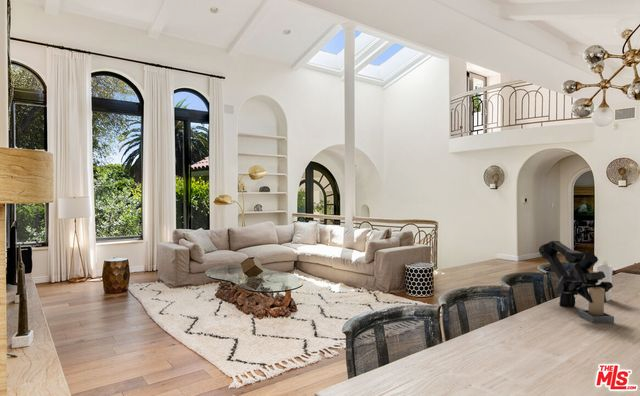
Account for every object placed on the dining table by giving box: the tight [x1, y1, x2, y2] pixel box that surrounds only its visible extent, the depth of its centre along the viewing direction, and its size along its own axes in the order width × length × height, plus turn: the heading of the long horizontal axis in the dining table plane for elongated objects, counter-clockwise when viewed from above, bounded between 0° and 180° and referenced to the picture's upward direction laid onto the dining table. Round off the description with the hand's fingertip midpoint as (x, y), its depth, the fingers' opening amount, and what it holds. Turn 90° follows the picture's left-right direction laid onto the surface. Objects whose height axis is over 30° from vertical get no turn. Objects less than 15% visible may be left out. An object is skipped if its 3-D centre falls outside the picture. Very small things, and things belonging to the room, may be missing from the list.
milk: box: [596, 259, 613, 302], centre depth 229 cm, size 6×6×22 cm
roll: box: [587, 287, 605, 316], centre depth 193 cm, size 6×6×13 cm
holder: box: [578, 309, 615, 324], centre depth 194 cm, size 10×10×3 cm
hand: (598, 302), depth 192 cm, fingers closed on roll, 6 cm apart
